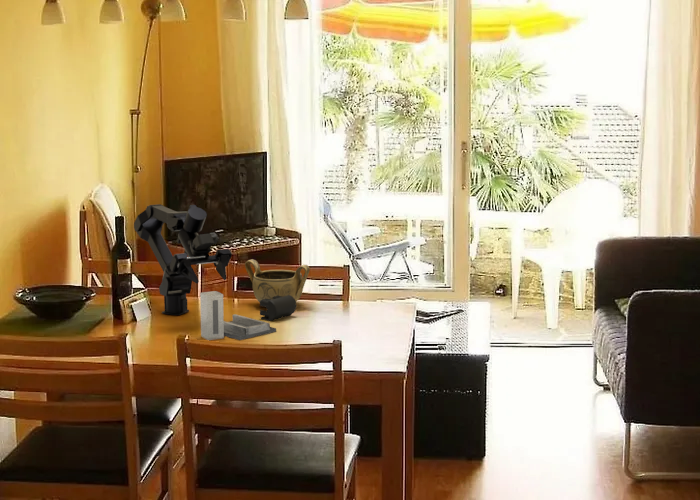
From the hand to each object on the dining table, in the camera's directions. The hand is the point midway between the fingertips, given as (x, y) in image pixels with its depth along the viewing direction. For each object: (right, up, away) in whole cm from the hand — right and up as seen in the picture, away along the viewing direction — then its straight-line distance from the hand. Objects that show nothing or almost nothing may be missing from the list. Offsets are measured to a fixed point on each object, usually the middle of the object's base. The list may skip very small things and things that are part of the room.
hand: (211, 280), depth 303 cm
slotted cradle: (+8, -15, +1) cm, 17 cm away
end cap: (+18, -13, +17) cm, 28 cm away
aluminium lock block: (+1, -16, -6) cm, 17 cm away
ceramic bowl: (+17, -10, +32) cm, 38 cm away
